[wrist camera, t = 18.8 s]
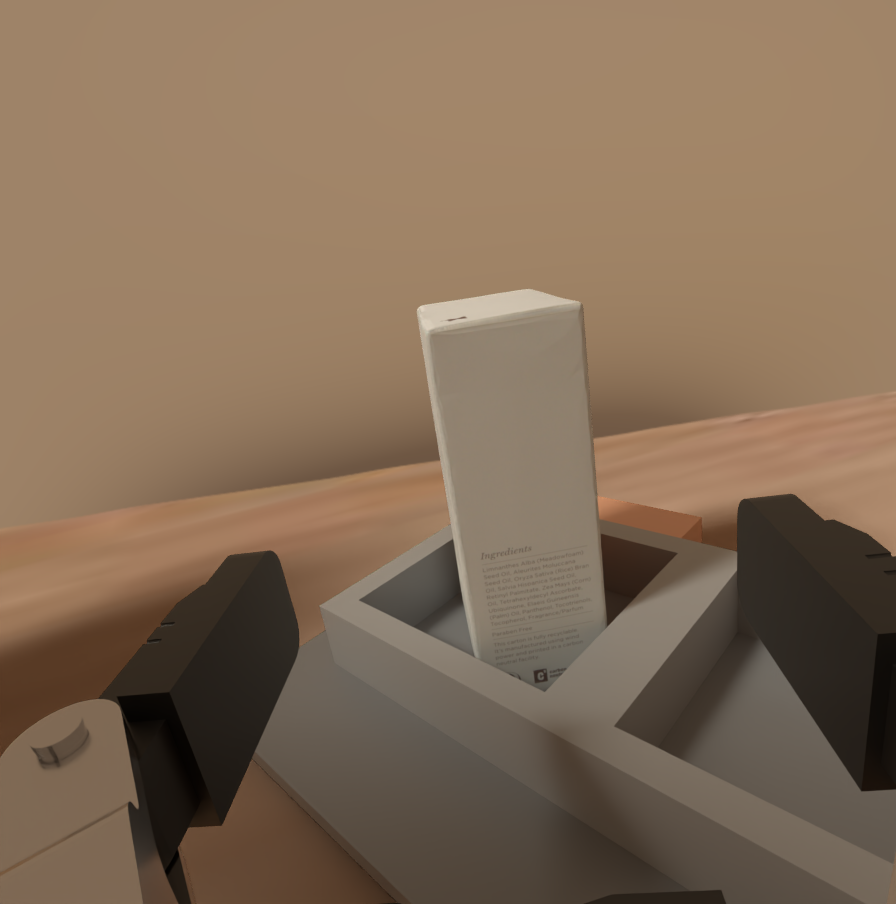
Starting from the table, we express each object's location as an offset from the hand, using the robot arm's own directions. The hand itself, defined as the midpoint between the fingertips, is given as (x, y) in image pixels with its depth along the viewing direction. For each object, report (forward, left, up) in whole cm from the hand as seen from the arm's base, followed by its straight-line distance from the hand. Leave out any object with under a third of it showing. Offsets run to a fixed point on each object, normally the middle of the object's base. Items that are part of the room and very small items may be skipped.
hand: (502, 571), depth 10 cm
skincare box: (-6, +7, -9) cm, 12 cm away
